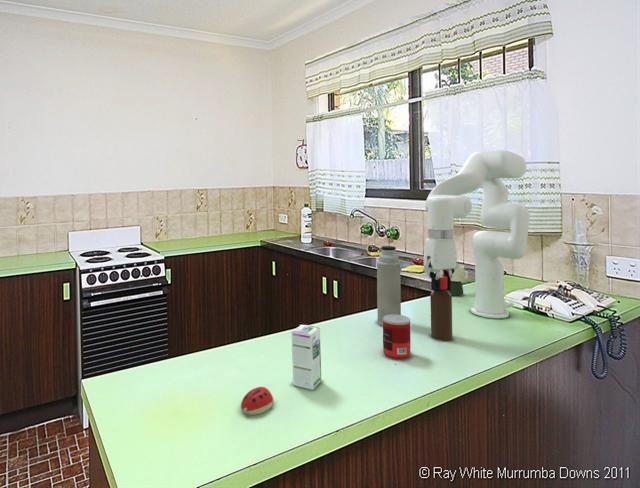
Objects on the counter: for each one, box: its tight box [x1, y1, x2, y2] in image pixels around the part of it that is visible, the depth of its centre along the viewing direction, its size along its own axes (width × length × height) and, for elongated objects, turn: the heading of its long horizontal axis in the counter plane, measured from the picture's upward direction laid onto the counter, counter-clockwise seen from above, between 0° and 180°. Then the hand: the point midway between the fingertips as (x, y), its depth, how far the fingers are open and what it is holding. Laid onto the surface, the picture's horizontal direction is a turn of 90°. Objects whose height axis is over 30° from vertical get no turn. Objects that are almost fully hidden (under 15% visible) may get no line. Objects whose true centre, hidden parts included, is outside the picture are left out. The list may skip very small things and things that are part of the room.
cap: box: [439, 274, 448, 289], centre depth 144 cm, size 4×4×4 cm
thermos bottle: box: [376, 245, 402, 327], centre depth 159 cm, size 8×8×28 cm
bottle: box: [429, 289, 453, 342], centre depth 145 cm, size 6×6×20 cm
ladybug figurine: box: [240, 386, 274, 416], centre depth 104 cm, size 7×10×4 cm
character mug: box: [447, 263, 469, 296], centre depth 193 cm, size 11×7×13 cm, turn 37°
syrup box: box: [291, 324, 322, 391], centre depth 115 cm, size 6×6×14 cm
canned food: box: [382, 314, 411, 360], centre depth 132 cm, size 8×8×11 cm
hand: (441, 289), depth 144 cm, fingers closed on cap, 3 cm apart
